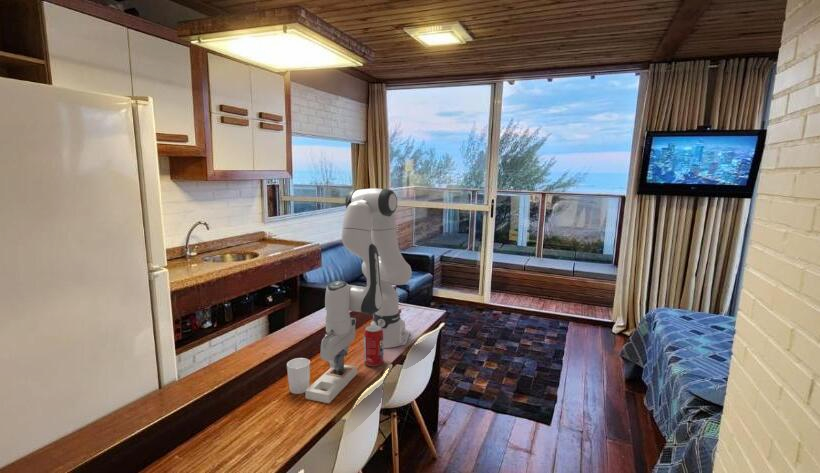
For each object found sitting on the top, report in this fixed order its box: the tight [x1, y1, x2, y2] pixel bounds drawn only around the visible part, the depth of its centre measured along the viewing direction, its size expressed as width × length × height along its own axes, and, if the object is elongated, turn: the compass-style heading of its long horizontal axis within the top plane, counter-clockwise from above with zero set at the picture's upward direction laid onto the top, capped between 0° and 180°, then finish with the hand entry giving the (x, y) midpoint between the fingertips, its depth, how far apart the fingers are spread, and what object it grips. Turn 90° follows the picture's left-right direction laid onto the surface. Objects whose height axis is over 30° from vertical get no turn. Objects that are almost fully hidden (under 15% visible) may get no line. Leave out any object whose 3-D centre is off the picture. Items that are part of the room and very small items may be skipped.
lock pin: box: [334, 349, 345, 375], centre depth 151 cm, size 4×4×11 cm
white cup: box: [286, 357, 311, 395], centre depth 144 cm, size 8×8×10 cm
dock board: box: [304, 364, 358, 404], centre depth 147 cm, size 21×9×3 cm, turn 161°
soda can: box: [363, 324, 385, 367], centre depth 164 cm, size 8×8×15 cm
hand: (338, 361), depth 151 cm, fingers open, 8 cm apart
